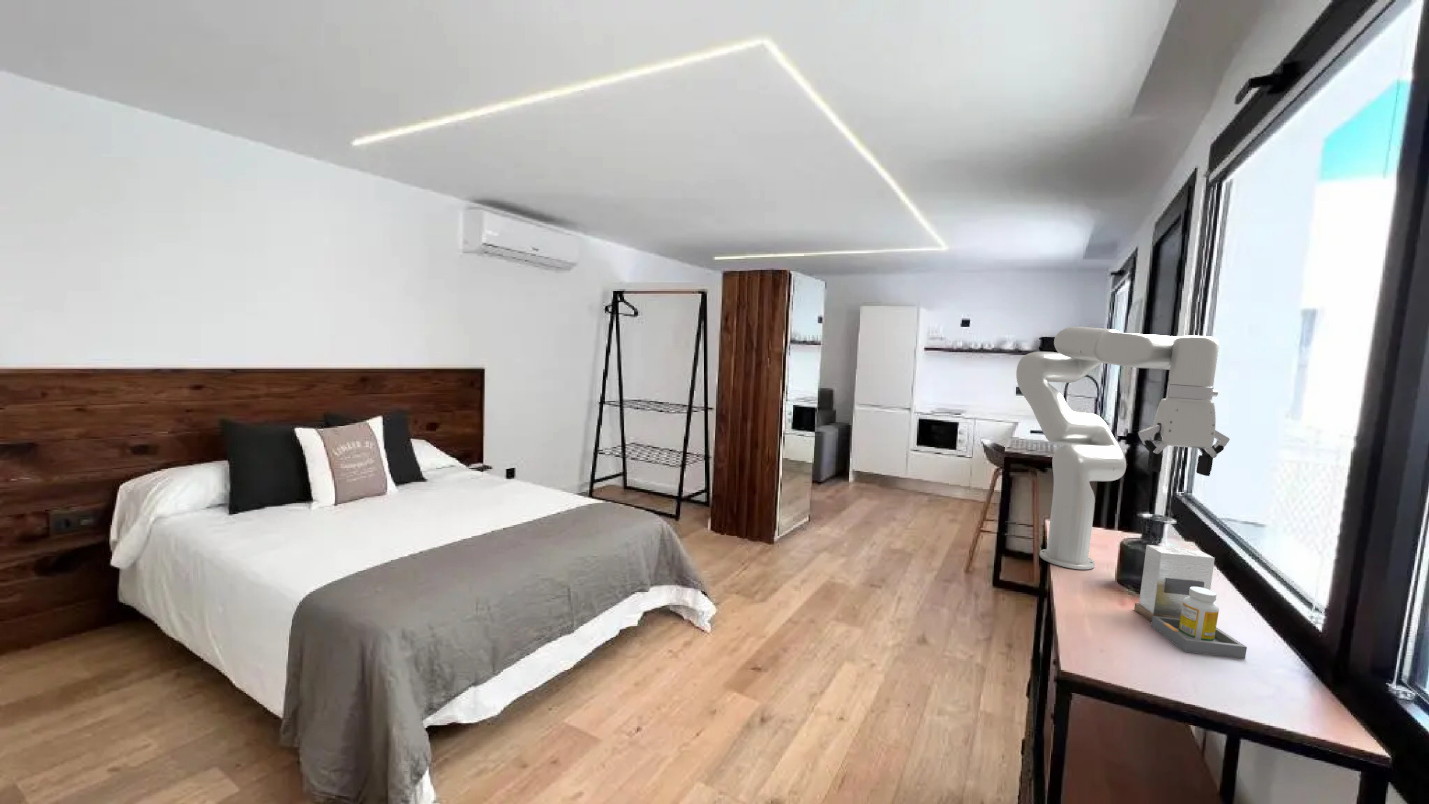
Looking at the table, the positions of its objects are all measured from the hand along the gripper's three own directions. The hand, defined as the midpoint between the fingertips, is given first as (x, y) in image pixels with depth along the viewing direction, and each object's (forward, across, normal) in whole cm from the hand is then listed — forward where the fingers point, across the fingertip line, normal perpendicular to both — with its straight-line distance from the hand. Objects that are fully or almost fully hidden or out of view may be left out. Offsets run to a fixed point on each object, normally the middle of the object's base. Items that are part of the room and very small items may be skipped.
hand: (1178, 472), depth 125 cm
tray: (+30, +3, +16) cm, 34 cm away
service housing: (+30, +2, +6) cm, 31 cm away
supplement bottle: (+30, +3, +16) cm, 34 cm away
